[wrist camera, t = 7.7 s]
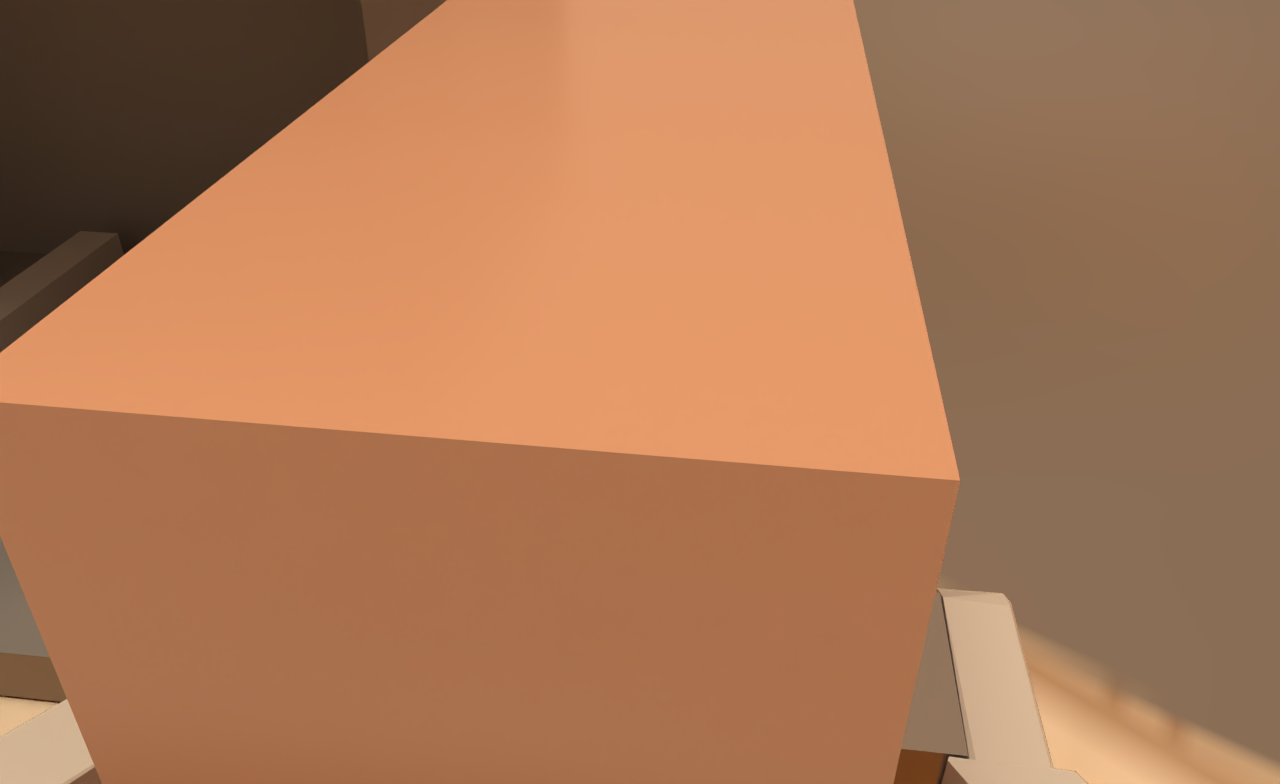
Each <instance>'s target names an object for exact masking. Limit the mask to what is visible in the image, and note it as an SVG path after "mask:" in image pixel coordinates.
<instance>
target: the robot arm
mask: <svg viewBox="0 0 1280 784" xmlns="http://www.w3.org/2000/svg"><path fill="white" fill-rule="evenodd" d="M0 784H102V783H101V780H100V778H99V775H98V773H97V771H96V768H95V766H94V763H93V761H92V758H91V756H90V754H89V751H88V749H87V746H86V744H85V741H84V739H83V737H82V734H81V732H80V729H79V727H78V724H77V722H76V720H75V717H74V715H73V712H72V710H71V707H70V705H69V702H68V700H67V699H66V700H64V701H62V702H61V703H59V704H57V705H55V706H54V707H52V708H50V709H48V710H47V711H45V712H43V713H41V714H40V715H38V716H36V717H34V718H33V719H31V720H29V721H27V722H26V723H24V724H22V725H20V726H19V727H17V728H15V729H13V730H12V731H10V732H8V733H6V734H5V735H3V736H1V737H0ZM893 784H1088V783H1087V782H1086V781H1085V780H1084V779H1083V778H1082V777H1081V776H1080V775H1079V774H1078V773H1077V772H1076V771H1071V770H1063V769H1055V768H1054V767H1053V763H1052V759H1051V756H1050V752H1049V748H1048V744H1047V740H1046V736H1045V732H1044V729H1043V725H1042V721H1041V717H1040V713H1039V709H1038V705H1037V702H1036V698H1035V694H1034V690H1033V686H1032V682H1031V678H1030V674H1029V671H1028V667H1027V663H1026V659H1025V655H1024V651H1023V647H1022V644H1021V640H1020V636H1019V632H1018V628H1017V624H1016V620H1015V617H1014V613H1013V609H1012V605H1011V602H1010V601H1009V600H1008V599H1007V598H1006V597H1005V595H1004V594H1003V593H992V592H991V593H990V592H978V591H965V590H951V589H937V590H936V592H935V597H934V602H933V606H932V611H931V615H930V620H929V624H928V629H927V633H926V638H925V642H924V647H923V652H922V656H921V661H920V665H919V670H918V674H917V679H916V683H915V688H914V692H913V697H912V702H911V706H910V711H909V715H908V720H907V724H906V729H905V733H904V738H903V742H902V747H901V752H900V756H899V761H898V765H897V770H896V774H895V779H894V783H893Z"/></svg>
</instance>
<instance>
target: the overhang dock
mask: <svg viewBox="0 0 1280 784" xmlns="http://www.w3.org/2000/svg"><path fill="white" fill-rule="evenodd" d="M446 1H447V0H0V353H1V352H2V351H3V350H4V349H6V348H7V347H8V346H9V345H11V344H12V343H13V342H15V341H16V340H17V339H18V338H20V337H21V336H22V335H23V334H25V333H26V332H27V331H28V330H30V329H31V328H32V327H34V326H35V325H36V324H37V323H39V322H40V321H41V320H42V319H44V318H45V317H46V316H47V315H49V314H50V313H51V312H53V311H54V310H55V309H56V308H58V307H59V306H60V305H61V304H63V303H64V302H65V301H67V300H68V299H69V298H70V297H72V296H73V295H74V294H75V293H77V292H78V291H79V290H80V289H82V288H83V287H84V286H86V285H87V284H88V283H89V282H91V281H92V280H93V279H94V278H96V277H97V276H98V275H99V274H101V273H102V272H103V271H105V270H106V269H107V268H108V267H110V266H111V265H112V264H113V263H115V262H116V261H117V260H118V259H120V258H121V257H122V256H124V255H125V254H126V253H127V252H129V251H130V250H131V249H132V248H134V247H135V246H136V245H137V244H139V243H140V242H141V241H143V240H144V239H145V238H146V237H148V236H149V235H150V234H151V233H153V232H154V231H155V230H157V229H158V228H159V227H160V226H162V225H163V224H164V223H165V222H167V221H168V220H169V219H170V218H172V217H173V216H174V215H176V214H177V213H178V212H179V211H181V210H182V209H183V208H184V207H186V206H187V205H188V204H189V203H191V202H192V201H193V200H195V199H196V198H197V197H198V196H200V195H201V194H202V193H203V192H205V191H206V190H207V189H208V188H210V187H211V186H212V185H214V184H215V183H216V182H217V181H219V180H220V179H221V178H222V177H224V176H225V175H226V174H228V173H229V172H230V171H231V170H233V169H234V168H235V167H236V166H238V165H239V164H240V163H241V162H243V161H244V160H245V159H247V158H248V157H249V156H250V155H252V154H253V153H254V152H255V151H257V150H258V149H259V148H260V147H262V146H263V145H264V144H266V143H267V142H268V141H269V140H271V139H272V138H273V137H274V136H276V135H277V134H278V133H279V132H281V131H282V130H283V129H285V128H286V127H287V126H288V125H290V124H291V123H292V122H293V121H295V120H296V119H297V118H299V117H300V116H301V115H302V114H304V113H305V112H306V111H307V110H309V109H310V108H311V107H312V106H314V105H315V104H316V103H318V102H319V101H320V100H321V99H323V98H324V97H325V96H326V95H328V94H329V93H330V92H331V91H333V90H334V89H335V88H337V87H338V86H339V85H340V84H342V83H343V82H344V81H345V80H347V79H348V78H349V77H350V76H352V75H353V74H354V73H356V72H357V71H358V70H359V69H361V68H362V67H363V66H364V65H366V64H367V63H368V62H369V61H371V60H372V59H373V58H375V57H376V56H377V55H378V54H380V53H381V52H382V51H383V50H385V49H386V48H387V47H389V46H390V45H391V44H392V43H394V42H395V41H396V40H397V39H399V38H400V37H401V36H402V35H404V34H405V33H406V32H408V31H409V30H410V29H411V28H413V27H414V26H415V25H416V24H418V23H419V22H420V21H421V20H423V19H424V18H425V17H427V16H428V15H429V14H430V13H432V12H433V11H434V10H435V9H437V8H438V7H439V6H440V5H442V4H443V3H444V2H446ZM0 695H3V696H13V697H22V698H31V699H41V700H50V701H60V702H62V701H64V700H66V699H67V698H66V695H65V693H64V690H63V688H62V685H61V683H60V681H59V678H58V676H57V673H56V671H55V668H54V666H53V664H52V661H51V659H50V656H49V654H48V651H47V649H46V646H45V644H44V642H43V639H42V637H41V634H40V632H39V629H38V627H37V625H36V622H35V620H34V617H33V615H32V612H31V610H30V608H29V605H28V603H27V600H26V598H25V595H24V593H23V591H22V588H21V586H20V583H19V581H18V578H17V576H16V573H15V571H14V569H13V566H12V564H11V561H10V559H9V556H8V554H7V552H6V549H5V547H4V544H3V542H2V539H1V537H0Z"/></svg>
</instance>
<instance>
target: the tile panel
mask: <svg viewBox="0 0 1280 784" xmlns="http://www.w3.org/2000/svg"><path fill="white" fill-rule="evenodd" d="M959 483H960V478H959V474H958V469H957V465H956V460H955V455H954V451H953V446H952V442H951V438H950V433H949V429H948V424H947V420H946V415H945V411H944V406H943V402H942V397H941V393H940V388H939V384H938V379H937V375H936V370H935V366H934V361H933V357H932V352H931V348H930V344H929V339H928V334H927V330H926V325H925V321H924V316H923V312H922V307H921V303H920V298H919V294H918V290H917V285H916V281H915V276H914V272H913V267H912V263H911V258H910V254H909V249H908V245H907V240H906V236H905V231H904V227H903V223H902V218H901V213H900V209H899V204H898V200H897V195H896V191H895V186H894V182H893V177H892V173H891V168H890V164H889V160H888V155H887V150H886V146H885V141H884V137H883V132H882V128H881V123H880V119H879V115H878V110H877V106H876V101H875V97H874V92H873V88H872V83H871V79H870V74H869V70H868V66H867V61H866V56H865V52H864V47H863V43H862V38H861V34H860V29H859V25H858V21H857V16H856V11H855V7H854V3H853V0H447V1H446V2H444V3H443V4H442V5H440V6H439V7H438V8H437V9H435V10H434V11H433V12H432V13H430V14H429V15H428V16H427V17H425V18H424V19H423V20H421V21H420V22H419V23H418V24H416V25H415V26H414V27H413V28H411V29H410V30H409V31H408V32H406V33H405V34H404V35H402V36H401V37H400V38H399V39H397V40H396V41H395V42H394V43H392V44H391V45H390V46H389V47H387V48H386V49H385V50H383V51H382V52H381V53H380V54H378V55H377V56H376V57H375V58H373V59H372V60H371V61H369V62H368V63H367V64H366V65H364V66H363V67H362V68H361V69H359V70H358V71H357V72H356V73H354V74H353V75H352V76H350V77H349V78H348V79H347V80H345V81H344V82H343V83H342V84H340V85H339V86H338V87H337V88H335V89H334V90H333V91H331V92H330V93H329V94H328V95H326V96H325V97H324V98H323V99H321V100H320V101H319V102H318V103H316V104H315V105H314V106H312V107H311V108H310V109H309V110H307V111H306V112H305V113H304V114H302V115H301V116H300V117H299V118H297V119H296V120H295V121H293V122H292V123H291V124H290V125H288V126H287V127H286V128H285V129H283V130H282V131H281V132H279V133H278V134H277V135H276V136H274V137H273V138H272V139H271V140H269V141H268V142H267V143H266V144H264V145H263V146H262V147H260V148H259V149H258V150H257V151H255V152H254V153H253V154H252V155H250V156H249V157H248V158H247V159H245V160H244V161H243V162H241V163H240V164H239V165H238V166H236V167H235V168H234V169H233V170H231V171H230V172H229V173H228V174H226V175H225V176H224V177H222V178H221V179H220V180H219V181H217V182H216V183H215V184H214V185H212V186H211V187H210V188H208V189H207V190H206V191H205V192H203V193H202V194H201V195H200V196H198V197H197V198H196V199H195V200H193V201H192V202H191V203H189V204H188V205H187V206H186V207H184V208H183V209H182V210H181V211H179V212H178V213H177V214H176V215H174V216H173V217H172V218H170V219H169V220H168V221H167V222H165V223H164V224H163V225H162V226H160V227H159V228H158V229H157V230H155V231H154V232H153V233H151V234H150V235H149V236H148V237H146V238H145V239H144V240H143V241H141V242H140V243H139V244H137V245H136V246H135V247H134V248H132V249H131V250H130V251H129V252H127V253H126V254H125V255H124V256H122V257H121V258H120V259H118V260H117V261H116V262H115V263H113V264H112V265H111V266H110V267H108V268H107V269H106V270H105V271H103V272H102V273H101V274H99V275H98V276H97V277H96V278H94V279H93V280H92V281H91V282H89V283H88V284H87V285H86V286H84V287H83V288H82V289H80V290H79V291H78V292H77V293H75V294H74V295H73V296H72V297H70V298H69V299H68V300H67V301H65V302H64V303H63V304H61V305H60V306H59V307H58V308H56V309H55V310H54V311H53V312H51V313H50V314H49V315H47V316H46V317H45V318H44V319H42V320H41V321H40V322H39V323H37V324H36V325H35V326H34V327H32V328H31V329H30V330H28V331H27V332H26V333H25V334H23V335H22V336H21V337H20V338H18V339H17V340H16V341H15V342H13V343H12V344H11V345H9V346H8V347H7V348H6V349H4V350H3V351H2V352H1V353H0V537H1V539H2V542H3V544H4V547H5V549H6V552H7V554H8V556H9V559H10V561H11V564H12V566H13V569H14V571H15V573H16V576H17V578H18V581H19V583H20V586H21V588H22V591H23V593H24V595H25V598H26V600H27V603H28V605H29V608H30V610H31V612H32V615H33V617H34V620H35V622H36V625H37V627H38V629H39V632H40V634H41V637H42V639H43V642H44V644H45V646H46V649H47V651H48V654H49V656H50V659H51V661H52V664H53V666H54V668H55V671H56V673H57V676H58V678H59V681H60V683H61V685H62V688H63V690H64V693H65V695H66V698H67V700H68V702H69V705H70V707H71V710H72V712H73V715H74V717H75V720H76V722H77V724H78V727H79V729H80V732H81V734H82V737H83V739H84V741H85V744H86V746H87V749H88V751H89V754H90V756H91V758H92V761H93V763H94V766H95V768H96V771H97V773H98V775H99V778H100V780H101V783H102V784H893V783H894V779H895V774H896V770H897V765H898V761H899V756H900V752H901V747H902V742H903V738H904V733H905V729H906V724H907V720H908V715H909V711H910V706H911V702H912V697H913V692H914V688H915V683H916V679H917V674H918V670H919V665H920V661H921V656H922V652H923V647H924V642H925V638H926V633H927V629H928V624H929V620H930V615H931V611H932V606H933V602H934V597H935V592H936V588H937V583H938V579H939V574H940V570H941V565H942V561H943V556H944V552H945V547H946V542H947V538H948V533H949V529H950V524H951V520H952V515H953V511H954V506H955V502H956V497H957V492H958V488H959Z"/></svg>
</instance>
